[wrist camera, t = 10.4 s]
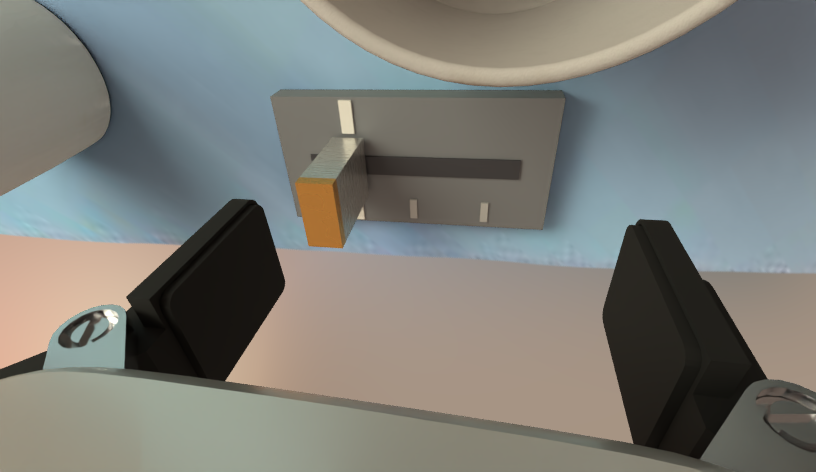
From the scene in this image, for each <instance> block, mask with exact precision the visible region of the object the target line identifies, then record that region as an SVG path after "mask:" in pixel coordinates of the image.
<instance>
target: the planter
mask: <svg viewBox="0 0 816 472" xmlns="http://www.w3.org/2000/svg"><path fill="white" fill-rule="evenodd" d="M300 1H301V2H303V3H304V4H305V5H306V6H307V7H308V8H309V9H310V10H311V11H312V12H313V13H315V14H316V15H317V16H318V17H319V18H320V19H322V20H323V21H324V22H325V23H327V24H328V25H329V26H331V27H332V28H333V29H334V30H336V31H337V32H338V33H340V34H341V35H342V36H344V37H345V38H347V39H348V40H350V41H352V42H353V43H355V44H356V45H358V46H360V47H361V48H363V49H364V50H366V51H368V52H370V53H372V54H374V55H376V56H378V57H380V58H382V59H384V60H386V61H388V62H389V63H391V64H394V65H396V66H399V67H402V68H404V69H407V70H410V71H412V72H415V73H417V74H421V75H425V76H428V77H432V78H436V79H439V80H443V81H448V82H454V83H460V84H466V85H474V86H490V87H513V86H531V85H538V84H546V83H554V82H559V81H564V80H568V79H572V78H577V77H581V76H585V75H589V74H592V73H595V72H598V71H602V70H605V69H608V68H611V67H614V66H617V65H620V64H622V63H625V62H627V61H629V60H632V59H634V58H636V57H639V56H641V55H644V54H646V53H648V52H651V51H653V50H655V49H657V48H659V47H661V46H663V45H665V44H667V43H669V42H671V41H672V40H674V39H676V38H678V37H680V36H682V35H684V34H686V33H688V32H689V31H691V30H693V29H694V28H696V27H698V26H699V25H701V24H702V23H704V22H706V21H707V20H709V19H711V18H712V17H714V16H716V15H717V14H719V13H720V12H722V11H723V10H725V9H726V8H728V7H729V6H730V5H732V4H733V3H735V2H736V1H737V0H300Z"/></svg>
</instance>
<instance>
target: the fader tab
mask: <svg viewBox="0 0 816 472" xmlns="http://www.w3.org/2000/svg"><path fill="white" fill-rule="evenodd" d="M295 186H296V191H297V195H298V200H299V204H300V209H301V213H302V218H303V222H304V227H305V231H306V236H307V240H308V245H309V246H316V247H331V248H343V247H344V245H345V242H346V240H347V238H348V236H349V234H350V232H351V230H352V228H353V226H354V224H355V222H356V220H357V218H358V216H359V214H360V212H361V210H362V208H363V206H364V204H365V201H366V199H367V197H368V195H369V188H368V179H367V170H366V161H365V151H364V142H363V138H342V137H332V138H331V140H330V141H329V142H328V143H327V145H326V146H325V147H324V148H323V149H322V151H321V152H320V153H319V154H318V155H317V157H316V158H315V159H314V160H313V161H312V163H311V164H310V165H309V166H308V168H307V169H306V170H305V171H304V172H303V174H302V175H301V176H300V177H299V178H298V180H297V181H296V182H295Z"/></svg>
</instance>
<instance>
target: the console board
mask: <svg viewBox="0 0 816 472" xmlns="http://www.w3.org/2000/svg"><path fill="white" fill-rule="evenodd" d="M270 98H271V102H272V106H273V111H274V115H275V120H276V124H277V128H278V133H279V137H280V141H281V146H282V150H283V155H284V159H285V163H286V168H287V172H288V176H289V181H290V185H291V190H292V194H293V198H294V203H295V207H296V211H297V216H298V217H302V213H301V209H300V204H299V200H298V195H297V191H296V186H295V182H296V181H297V180H298V178H299V177H300V176H301V175H302V174H303V172H304V171H305V170H306V169H307V168H308V166H309V165H310V164H311V163H312V161H313V160H314V159H315V158H316V157H317V155H318V154H319V153H320V152H321V151H322V149H323V148H324V147H325V146H326V145H327V143H328V142H329V141H330V140H331V138H332V137H342V138H363V142H364V151H365V161H366V170H367V179H368V188H369V195H368V197H367V199H366V201H365V204H364V206H363V208H362V210H361V212H360V214H359V216H358V218H357V220H372V221H391V222H409V223H428V224H446V225H465V226H484V227H502V228H521V229H539V230H543V225H544V219H545V213H546V208H547V202H548V196H549V190H550V185H551V179H552V173H553V168H554V162H555V156H556V151H557V145H558V139H559V133H560V128H561V122H562V116H563V111H564V105H565V99H566V98H565V96H564V94H563V92H562V90H279V91H278V92H276V93H275V94H274V95H272V96H271V97H270Z"/></svg>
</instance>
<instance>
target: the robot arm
mask: <svg viewBox="0 0 816 472" xmlns="http://www.w3.org/2000/svg"><path fill="white" fill-rule="evenodd" d="M284 287H285V279H284V275H283V272H282V269H281V266H280V262H279V259H278V256H277V253H276V249H275V246H274V242H273V239H272V236H271V233H270V229H269V226H268V223H267V219H266V216H265V213H264V210H263V208H262V207H261V206H259V205H258V204H257V202H256V201H254V200H245V199H232V200H231V201H229V202H228V203H227V204H226V205H225V206H224V207H223V208H222V209H221V210H219V211H218V212H217V213H216V214H215V215H214V216H213V217H212V218H211V219H210V220H209V221H208V222H207V223H205V224H204V225H203V226H202V227H201V228H200V229H199V230H198V231H197V232H196V233H195V234H194V235H192V236H191V237H190V238H189V239H188V240H187V241H186V242H185V243H184V244H183V245H182V246H181V247H180V248H178V249H177V250H176V251H175V252H174V253H173V254H172V255H171V256H170V257H169V258H168V259H167V260H165V261H164V262H163V263H162V264H161V265H160V266H159V267H158V268H157V269H156V270H155V271H154V272H153V273H151V274H150V275H149V276H148V277H147V278H146V279H145V280H144V281H143V282H142V283H141V284H140V285H139V286H137V287H136V288H135V289H134V290H133V291H132V292H131V293H130V294H129V295H128V296H127V299H128V301H129V303H130V304H131V306H132V307H131V308H130V309H129V310H128V311H125V309H123V308H122V307H121V306H117V305H101V306H98V307H93V308H90V309H88V310H85V311H83V312H81V313H79V314H77V315H75V316H74V317H72V318H70V319H69V320H67V321H66V322H65V323H64V324H62V325H61V326H60V327H59V328H58V329H57V330H56V331H55V333H54V334H53V335H52V337H51V340H50V342H49V346H48V350H47V351H45V352H43V353H40V354H38V355H36V356H33V357H30V358H28V359H25V360H23V361H20V362H18V363H15V364H13V365H10V366H8V367H5V368H2V369H0V472H816V392H813V391H811V390H809V389H807V388H804V387H802V386H800V385H797V384H794V383H790V382H785V381H782V380H769V379H767V377H766V376H765V374H764V372H763V371H762V369H761V367H760V366H759V364H758V362H757V361H756V359H755V357H754V355H753V354H752V352H751V350H750V349H749V347H748V345H747V344H746V342H745V340H744V339H743V337H742V335H741V334H740V332H739V330H738V329H737V327H736V325H735V324H734V322H733V320H732V319H731V317H730V315H729V314H728V312H727V310H726V309H725V307H724V306H723V304H722V302H721V300H720V298H719V297H718V295H717V293H716V292H715V290H714V288H713V287H712V286H711V284H710V283H709V282H707V281H705V280H702V278H701V276H700V275H699V273H698V271H697V269H696V268H695V266H694V264H693V262H692V261H691V259H690V257H689V256H688V254H687V252H686V250H685V249H684V247H683V245H682V243H681V242H680V240H679V238H678V237H677V235H676V233H675V231H674V230H673V228H672V226H671V224H670V223H669V222H668V221H663V220H643V219H640V220H638V221H637V223H636V225H629V226H628V227H627V229H626V232H625V236H624V239H623V243H622V246H621V250H620V253H619V256H618V260H617V263H616V267H615V270H614V274H613V277H612V280H611V284H610V287H609V291H608V294H607V297H606V301H605V304H604V308H603V323H604V328H605V332H606V336H607V340H608V344H609V348H610V351H611V356H612V360H613V363H614V368H615V372H616V375H617V380H618V383H619V387H620V392H621V395H622V400H623V404H624V408H625V411H626V416H627V419H628V423H629V427H630V431H631V435H632V439H633V443H634V444H631V443H626V442H620V441H614V440H608V439H602V438H596V437H590V436H584V435H578V434H573V433H567V432H560V431H555V430H549V429H543V428H536V427H530V426H523V425H517V424H510V423H504V422H497V421H490V420H484V419H477V418H471V417H464V416H458V415H451V414H445V413H438V412H432V411H425V410H419V409H411V408H405V407H398V406H391V405H385V404H377V403H371V402H364V401H358V400H351V399H344V398H337V397H330V396H324V395H317V394H309V393H303V392H296V391H289V390H282V389H275V388H268V387H261V386H254V385H247V384H240V383H233V382H226V381H225V380H226V379H227V377H228V376H229V374H230V372H231V371H232V370H233V368H234V366H235V365H236V363H237V362H238V360H239V359H240V357H241V356H242V354H243V352H244V351H245V349H246V348H247V346H248V345H249V343H250V342H251V340H252V339H253V337H254V335H255V334H256V332H257V331H258V329H259V328H260V326H261V325H262V323H263V321H264V320H265V318H266V317H267V315H268V314H269V312H270V311H271V309H272V308H273V306H274V305H275V303H276V302H277V300H278V298H279V296H280V295H281V294H282V292H283V290H284Z"/></svg>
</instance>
